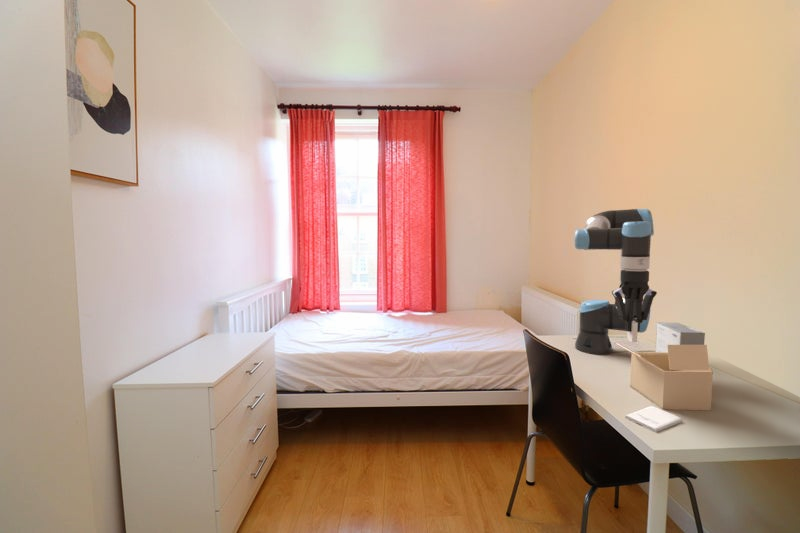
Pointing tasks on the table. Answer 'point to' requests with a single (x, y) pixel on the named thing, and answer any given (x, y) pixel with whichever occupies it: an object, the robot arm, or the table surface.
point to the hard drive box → (676, 336)
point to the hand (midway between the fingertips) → (631, 340)
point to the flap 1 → (637, 355)
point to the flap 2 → (688, 357)
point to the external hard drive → (653, 418)
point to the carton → (670, 383)
